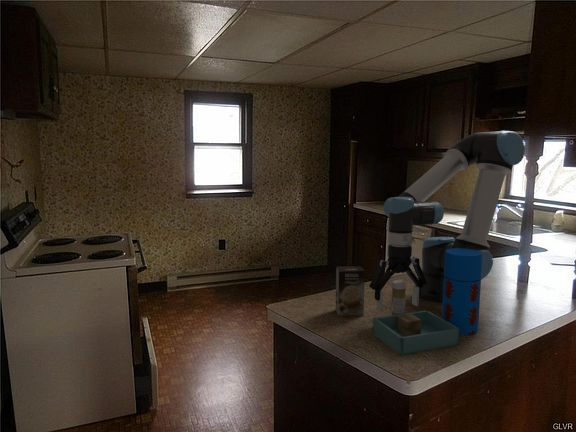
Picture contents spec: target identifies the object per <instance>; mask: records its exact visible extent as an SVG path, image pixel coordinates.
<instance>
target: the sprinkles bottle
mask: <svg viewBox="0 0 576 432" xmlns="http://www.w3.org/2000/svg"><path fill="white" fill-rule="evenodd" d="M406 289H407V282H405V281H404V280H399V279H398V280H396V279H395V280H392V282H391V315H398V314H405V313H406Z"/></svg>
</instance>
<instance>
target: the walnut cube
mask: <svg viewBox="0 0 576 432" xmlns="http://www.w3.org/2000/svg"><path fill="white" fill-rule="evenodd" d="M397 332H399V333H400V334H402V335H403V336H404V337H406V336H412V335H418V334H421V319H419V318H417V317H416V316H414V315H412V314H409V315H402V316H398V324H397Z"/></svg>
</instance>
